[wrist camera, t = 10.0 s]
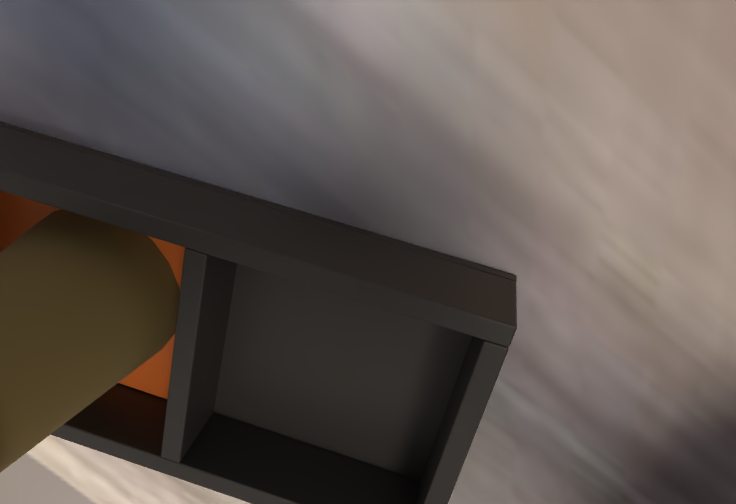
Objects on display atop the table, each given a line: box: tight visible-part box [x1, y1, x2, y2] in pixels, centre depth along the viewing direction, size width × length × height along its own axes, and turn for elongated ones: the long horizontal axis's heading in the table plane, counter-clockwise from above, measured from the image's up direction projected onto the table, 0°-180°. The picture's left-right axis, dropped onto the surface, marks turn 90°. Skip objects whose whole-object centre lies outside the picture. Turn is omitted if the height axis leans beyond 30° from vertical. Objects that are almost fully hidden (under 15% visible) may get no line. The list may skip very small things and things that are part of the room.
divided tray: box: [0, 122, 517, 504], centre depth 21 cm, size 9×18×3 cm, turn 77°
